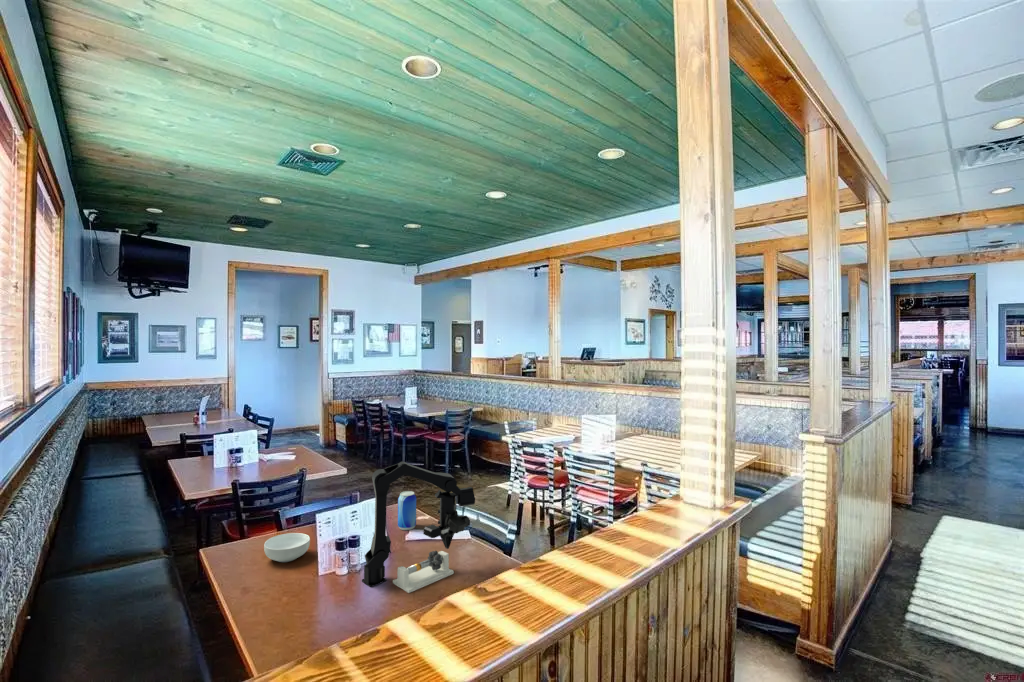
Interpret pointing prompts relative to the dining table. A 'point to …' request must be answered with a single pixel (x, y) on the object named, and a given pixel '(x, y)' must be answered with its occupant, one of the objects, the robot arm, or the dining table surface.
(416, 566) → the pipe
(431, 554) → the black lobed collar
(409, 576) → the base board
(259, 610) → the dining table surface
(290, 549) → the cereal bowl
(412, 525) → the beer can
